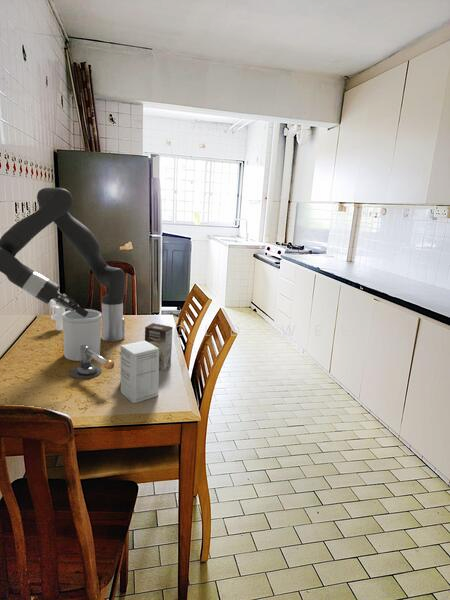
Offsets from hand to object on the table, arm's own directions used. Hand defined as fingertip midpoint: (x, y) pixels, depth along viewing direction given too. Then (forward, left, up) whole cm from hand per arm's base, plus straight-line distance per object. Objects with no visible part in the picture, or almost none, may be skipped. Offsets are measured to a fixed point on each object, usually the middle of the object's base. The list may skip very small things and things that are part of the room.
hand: (86, 314), depth 137 cm
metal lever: (0, +7, -21) cm, 22 cm away
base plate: (0, -1, -22) cm, 22 cm away
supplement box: (-7, +25, -22) cm, 34 cm away
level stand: (-10, +16, -22) cm, 29 cm away
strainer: (-10, -55, -22) cm, 60 cm away
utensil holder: (-6, -18, -22) cm, 29 cm away
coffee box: (-25, +8, -22) cm, 34 cm away
